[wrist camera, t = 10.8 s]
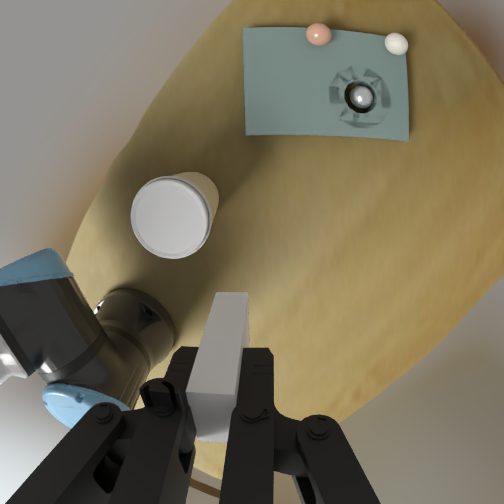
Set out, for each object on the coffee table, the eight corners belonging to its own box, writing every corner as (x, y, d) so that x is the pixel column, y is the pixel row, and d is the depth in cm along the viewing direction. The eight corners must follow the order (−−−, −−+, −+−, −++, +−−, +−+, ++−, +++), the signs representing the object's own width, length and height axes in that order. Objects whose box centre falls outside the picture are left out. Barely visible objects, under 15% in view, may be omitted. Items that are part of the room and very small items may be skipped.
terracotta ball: (305, 48, 34) (308, 41, 31) (303, 26, 32) (306, 18, 30) (329, 49, 33) (334, 42, 30) (328, 28, 32) (332, 20, 29)
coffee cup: (179, 154, 42) (149, 161, 31) (237, 186, 43) (226, 205, 32) (151, 210, 45) (116, 235, 34) (205, 241, 46) (186, 275, 35)
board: (247, 135, 41) (245, 135, 38) (243, 33, 35) (242, 27, 33) (401, 140, 39) (408, 141, 37) (397, 43, 34) (404, 39, 32)
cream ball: (382, 55, 33) (390, 50, 30) (380, 34, 32) (388, 28, 29) (403, 58, 33) (413, 54, 30) (401, 38, 32) (410, 32, 29)
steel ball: (345, 107, 37) (363, 106, 35) (344, 84, 36) (363, 82, 34) (359, 110, 39) (378, 109, 36) (359, 88, 38) (377, 87, 35)
